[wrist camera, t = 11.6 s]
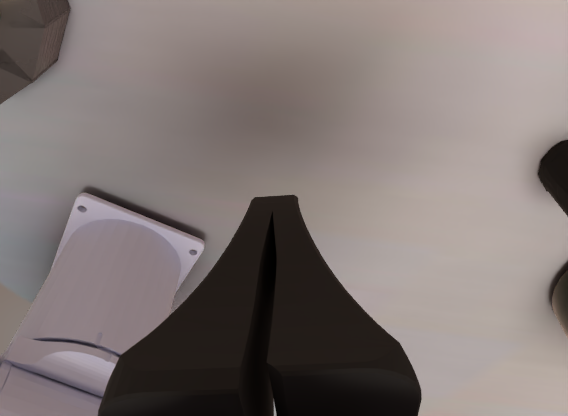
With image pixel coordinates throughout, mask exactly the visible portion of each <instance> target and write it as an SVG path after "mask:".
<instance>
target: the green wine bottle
mask: <svg viewBox="0 0 568 416" xmlns="http://www.w3.org/2000/svg"><path fill="white" fill-rule="evenodd" d="M552 308H553V311H554V313H555V315H556V317H557V319H558V321H559V323H560V325H561V327H562V329H563V331H564V333H565V334H566V336H567V338H568V269H567V270H566V272H565V273H564V274H563V275H562V276H561V278H560V279H559V281H558V282H557V284H556V286H555V288H554V292H553V296H552Z"/></svg>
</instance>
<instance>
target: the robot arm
mask: <svg viewBox="0 0 568 416" xmlns="http://www.w3.org/2000/svg"><path fill="white" fill-rule="evenodd" d="M80 205H81V206H84V207H85V208H83V207H81V206H80ZM204 247H205V242H204V241H203V240H202V239H200V238H197V237H195V236H192V235H190V234H187V233H185V232H182V231H180V230H177V229H175V228H172V227H170V226H167V225H165V224H162V223H160V222H158V221H155V220H153V219H150V218H148V217H145V216H143V215H140V214H138V213H135V212H133V211H130V210H128V209H125V208H123V207H120V206H118V205H115V204H113V203H110V202H108V201H105V200H103V199H101V198H98V197H96V196H93V195H91V194H88V193H80V194H79V195H78V196H77V198H76V200H75V203H74V205H73V208H72V211H71V214H70V217H69V219H68V222H67V225H66V228H65V231H64V234H63V236H62V239H61V242H60V245H59V248H58V250H57V253H56V256H55V259H54V262H53V264H52V267H51V270H50V273H49V275H48V277H47V279H46V280H45V282H44V284H43V286H42V287H41V289H40V291H39V293H38V294H37V296H36V298H35V300H34V301H33V303H32V305H31V307H30V308H29V310H28V312H27V314H26V316H25V317H24V319H23V321H22V322H21V324H20V326H19V328H18V329H17V331H16V333H15V335H14V336H13V338H12V340H11V342H10V343H9V345H8V347H7V349H6V350H5V351H4V352H3V353H2V354H1V356H0V416H274V403H275V408H276V413H277V416H418V412H419V407H420V403H421V388H420V385H419V382H418V379H417V377H416V374H415V372H414V369H413V367H412V365H411V363H410V361H409V359H408V357H407V355H406V354H405V352H404V350H403V348H402V346H401V345H400V343H399V342H398V341H397V340H395V339H394V338H393V337H392V336H391V335H390V334H388V333H387V332H386V331H385V330H384V329H383V328H382V327H381V326H380V325H378V324H377V323H376V322H375V321H374V320H373V319H372V318H371V317H370V316H369V315H368V314H367V313H366V312H365V311H364V310H363V309H362V308H361V306H360V305H359V304H358V303H357V302H356V301H355V300H354V299H353V298H352V296H351V295H350V294H349V293H348V292H347V291H346V290H345V288H344V287H343V286H342V284H341V283H340V282H339V281H338V279H337V278H336V277H335V275H334V274H333V272H332V271H331V270H330V268H329V267H328V265H327V264H326V262H325V260H324V259H323V257H322V256H321V254H320V252H319V251H318V249H317V247H316V245H315V243H314V242H313V240H312V238H311V236H310V234H309V231H308V229H307V227H306V225H305V223H304V220H303V217H302V215H301V212H300V208H299V204H298V198H297V197H296V196H295V195H284V196H268V197H255V198H254V199H253V200H252V201H251V203H250V206H249V208H248V210H247V212H246V215H245V217H244V219H243V220H242V222H241V224H240V226H239V228H238V230H237V231H236V233H235V235H234V237H233V238H232V240H231V242H230V243H229V245H228V247H227V248H226V250H225V251H224V253H223V254H222V256H221V257H220V259H219V260H218V262H217V263H216V264H215V266H214V267H213V268H212V270H211V271H210V272H209V274H208V275H207V276H206V277H205V279H204V280H203V281H202V282H201V284H200V285H199V286H198V287H197V288H196V289H195V290H194V291H193V292H192V294H191V295H190V296H189V297H188V298H187V299H186V300H185V301H184V302H183V303H182V304H181V305H180V306H179V307H178V308H177V309H176V310H175V311H174V312H173V313H172V314H171V315H170V311H171V307H172V303H173V300H174V296H175V293H176V292H177V290H178V289H179V287H180V285H181V284H182V282H183V281H184V279H185V278H186V276H187V275H188V273H189V272H190V270H191V269H192V267H193V266H194V264H195V262H196V261H197V259H198V258H199V256H200V255H201V253H202V252H203V250H204ZM192 249H193V250H196V251H192ZM169 315H170V316H169ZM273 398H274V403H273Z"/></svg>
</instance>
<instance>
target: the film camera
mask: <svg viewBox="0 0 568 416" xmlns="http://www.w3.org/2000/svg"><path fill="white" fill-rule="evenodd" d="M538 175H539V178H540V181H541V182H542V183H543V185H544V187H545V189H546V191H548V192H549V193H550V194H551V196H552V197H553V198H554V199H555V201H556V202H557V203H558V205H559V206H560V207H561V208H562V210H563V211H564V212H565V213H566V215H567V216H568V140H565V141H561V142H559V143H558V144H556V145H555V146H554V147H553V148H551V149H550V150H549V151H548V153H547V154H546V155H545V156H544V157H543V159H542V160H541V165H540V169H539V173H538Z"/></svg>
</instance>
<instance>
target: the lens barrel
mask: <svg viewBox="0 0 568 416" xmlns="http://www.w3.org/2000/svg"><path fill="white" fill-rule="evenodd" d="M69 11H70V8H69V4H68V1H67V0H0V14H1V16H0V104H1V103H3V102H4V101H5V100H7V99H8V98H10V97H11V96H13V95H14V94H16V93H17V92H18V91H20V90H21V89H23V88H24V87H26V86H27V85H29V84H30V83H33V82H34V81H35V80H36V79H37V78H38V77H40V76H41V75H42V74H43V73H44V72H45V71H46V70H47V69H49V68H50V67H51V66H52V65H53V64H54V63H55V62H56V61H57V60H58V59H57V58H58V54H59V50H60V46H61V42H62V39H63V35H64V31H65V27H66V23H67V19H68V15H69Z"/></svg>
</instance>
